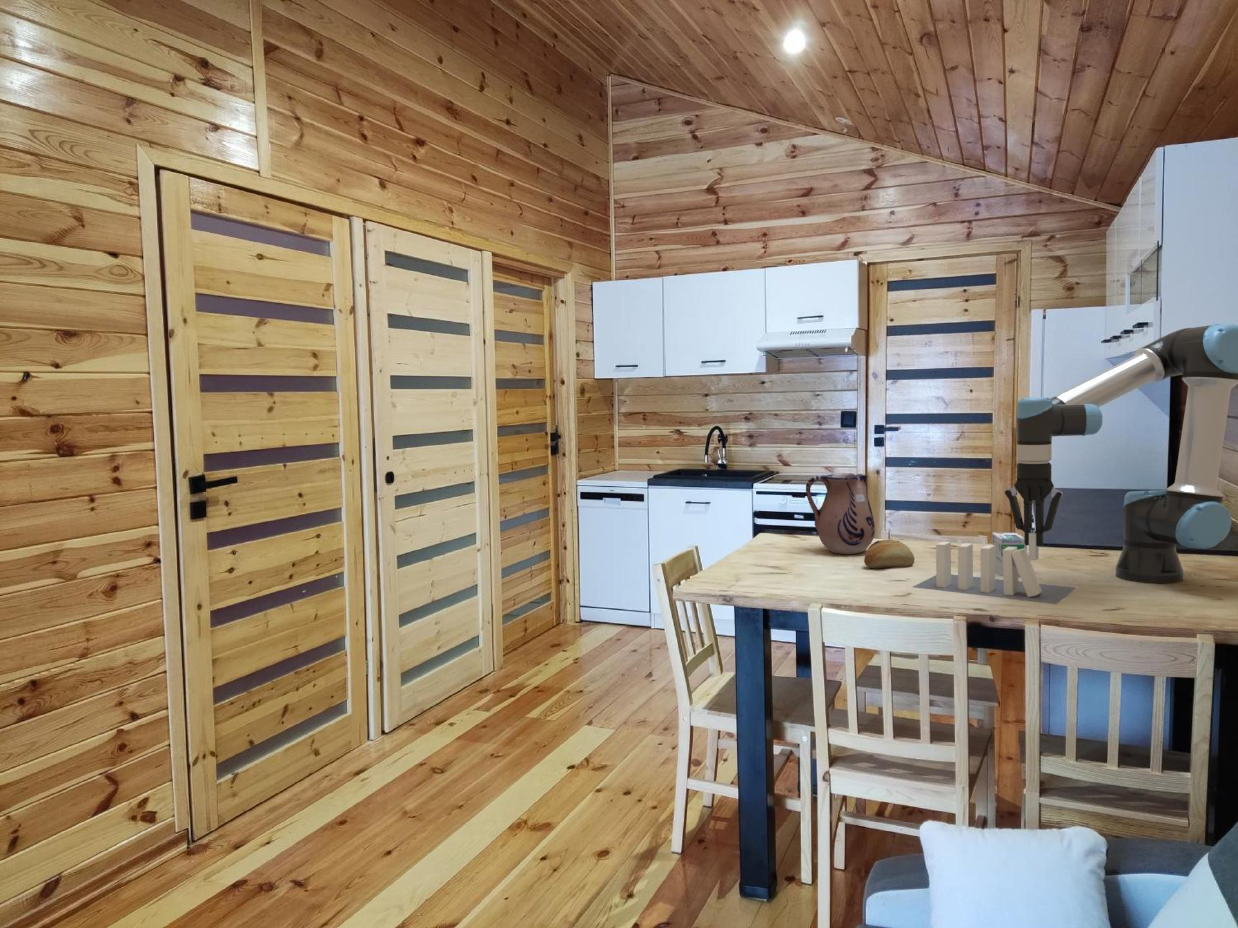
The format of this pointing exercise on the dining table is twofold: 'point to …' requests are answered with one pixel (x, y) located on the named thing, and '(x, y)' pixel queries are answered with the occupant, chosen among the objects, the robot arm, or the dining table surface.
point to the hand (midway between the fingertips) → (1033, 559)
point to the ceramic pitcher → (843, 513)
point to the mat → (1002, 590)
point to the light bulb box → (1003, 542)
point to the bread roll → (888, 555)
